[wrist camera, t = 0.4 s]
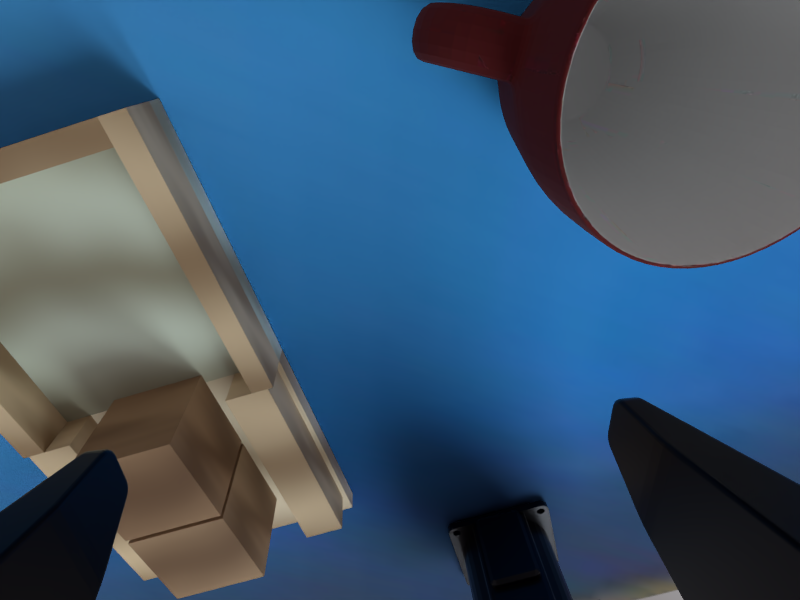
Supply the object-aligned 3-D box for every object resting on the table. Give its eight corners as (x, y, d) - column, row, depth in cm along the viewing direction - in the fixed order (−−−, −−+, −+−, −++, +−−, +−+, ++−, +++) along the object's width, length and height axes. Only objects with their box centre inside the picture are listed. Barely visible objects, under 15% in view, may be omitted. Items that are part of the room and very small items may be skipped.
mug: (390, 167, 20) (419, 262, 11) (405, -73, 16) (465, -212, 8) (628, 179, 21) (822, 275, 12) (692, -42, 17) (1036, -130, 9)
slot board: (352, 493, 29) (352, 538, 26) (167, 542, 30) (149, 591, 27) (158, 98, 18) (125, 107, 15) (-127, 190, 19) (-206, 214, 16)
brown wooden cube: (241, 441, 25) (220, 515, 21) (161, 463, 25) (125, 541, 21) (201, 374, 23) (169, 444, 19) (113, 400, 23) (64, 473, 19)
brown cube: (276, 499, 27) (264, 576, 23) (202, 518, 27) (177, 598, 24) (243, 443, 25) (222, 518, 21) (163, 466, 25) (128, 543, 21)
